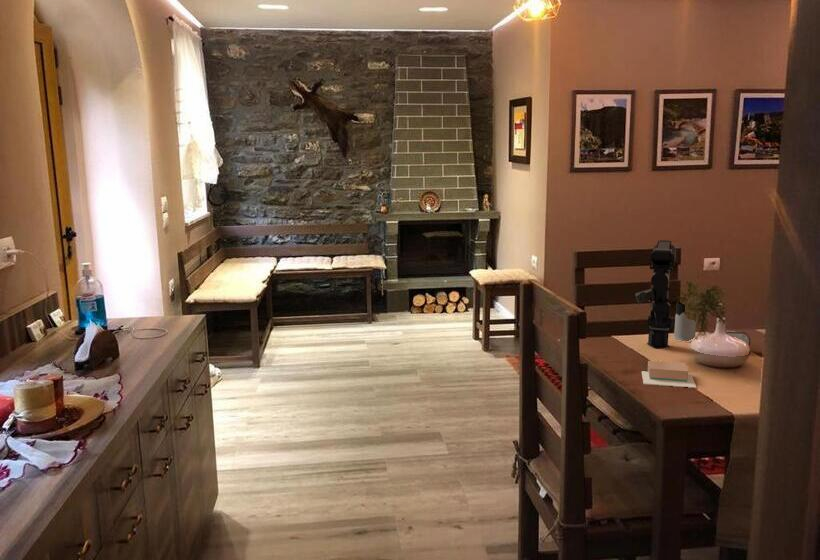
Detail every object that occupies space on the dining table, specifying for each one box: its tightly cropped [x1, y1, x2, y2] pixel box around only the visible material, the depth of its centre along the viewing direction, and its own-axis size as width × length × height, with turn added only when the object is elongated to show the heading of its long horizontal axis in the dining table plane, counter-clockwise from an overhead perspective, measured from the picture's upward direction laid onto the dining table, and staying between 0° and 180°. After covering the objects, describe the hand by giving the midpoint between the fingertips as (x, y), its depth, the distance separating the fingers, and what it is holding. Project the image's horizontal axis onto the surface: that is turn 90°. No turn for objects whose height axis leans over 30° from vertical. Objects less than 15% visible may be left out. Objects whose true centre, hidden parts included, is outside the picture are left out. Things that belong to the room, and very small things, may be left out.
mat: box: [641, 370, 697, 389], centre depth 221 cm, size 13×16×1 cm
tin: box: [711, 329, 752, 347], centre depth 252 cm, size 15×3×8 cm, turn 84°
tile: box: [647, 360, 689, 381], centre depth 224 cm, size 4×12×9 cm
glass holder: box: [672, 300, 697, 342], centre depth 272 cm, size 9×14×15 cm, turn 177°
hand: (658, 325), depth 245 cm, fingers closed
